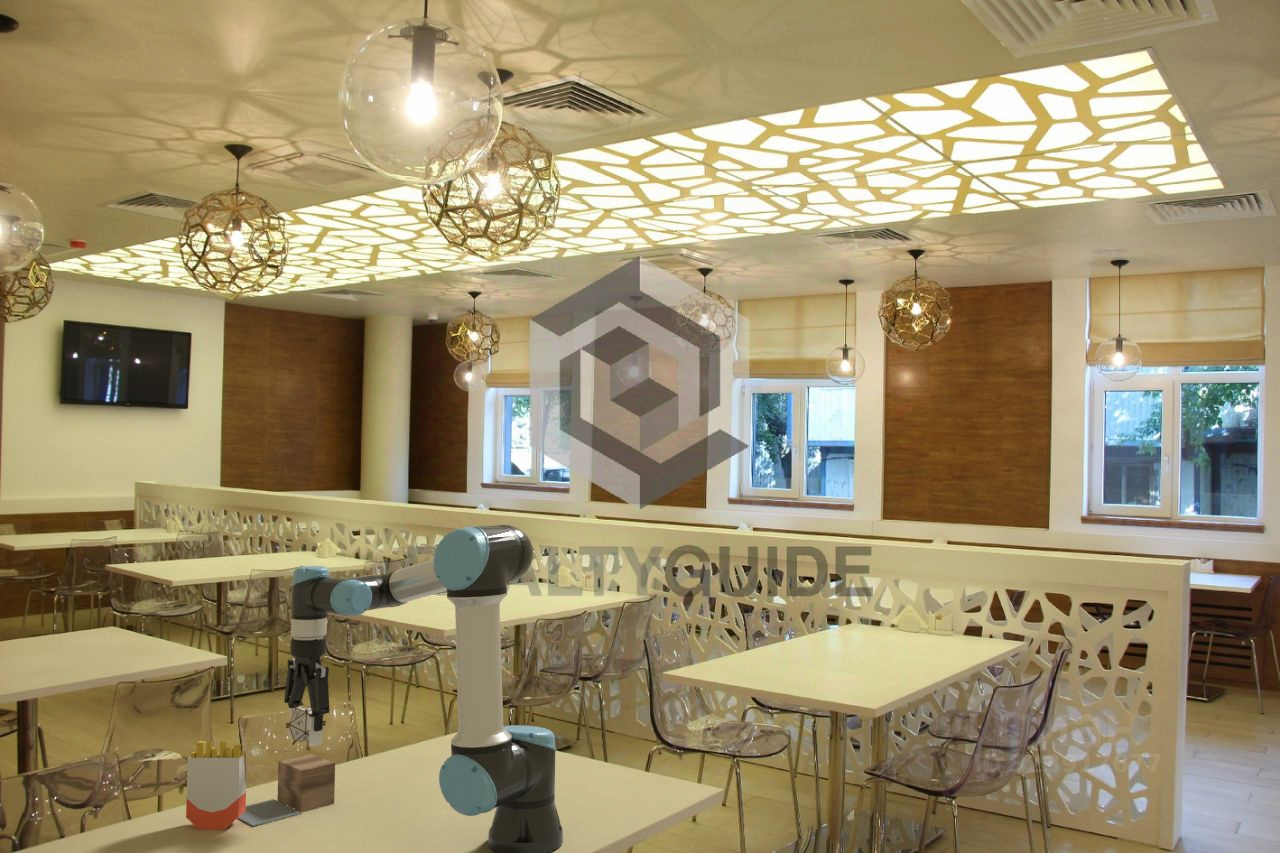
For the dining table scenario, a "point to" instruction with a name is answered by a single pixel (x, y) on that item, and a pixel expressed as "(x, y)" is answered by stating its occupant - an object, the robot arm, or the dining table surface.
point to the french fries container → (215, 786)
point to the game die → (300, 724)
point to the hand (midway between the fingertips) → (305, 741)
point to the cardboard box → (306, 782)
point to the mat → (266, 812)
